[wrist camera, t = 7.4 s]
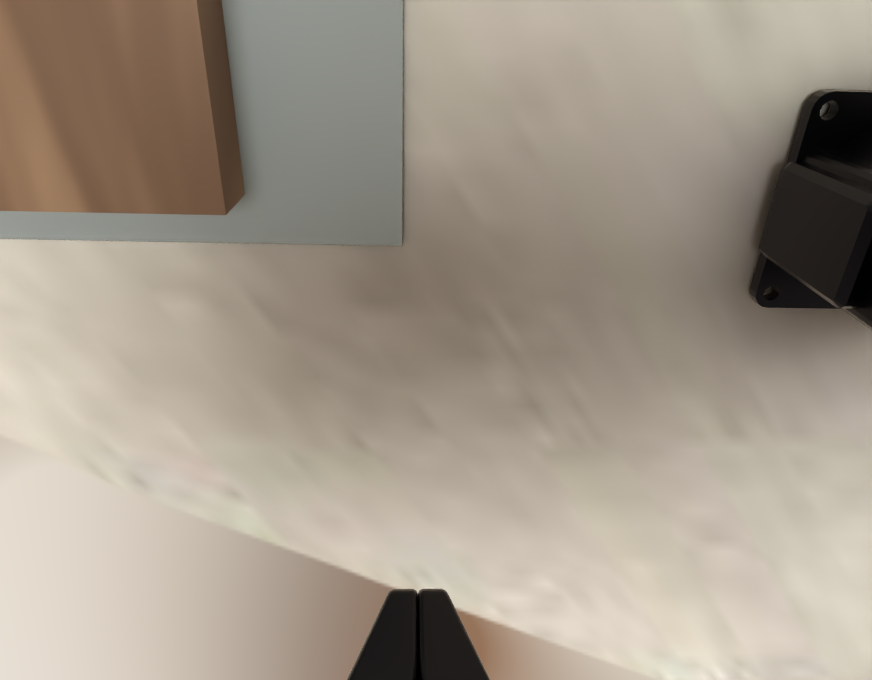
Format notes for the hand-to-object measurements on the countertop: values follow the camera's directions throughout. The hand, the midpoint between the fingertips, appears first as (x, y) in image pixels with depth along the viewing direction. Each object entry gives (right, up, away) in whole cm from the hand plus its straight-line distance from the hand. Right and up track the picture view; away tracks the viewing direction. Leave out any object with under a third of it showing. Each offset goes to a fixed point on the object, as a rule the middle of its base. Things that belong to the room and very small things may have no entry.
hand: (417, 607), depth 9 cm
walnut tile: (-5, +10, +6) cm, 13 cm away
